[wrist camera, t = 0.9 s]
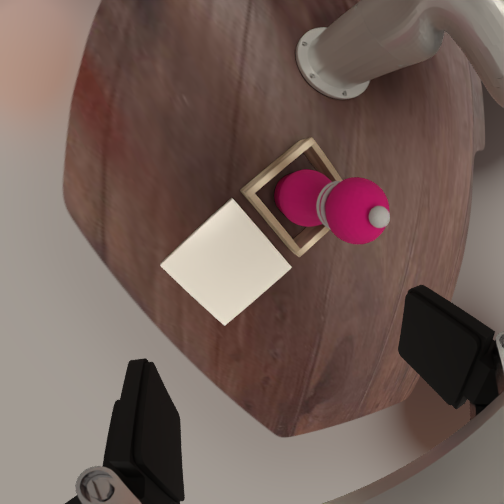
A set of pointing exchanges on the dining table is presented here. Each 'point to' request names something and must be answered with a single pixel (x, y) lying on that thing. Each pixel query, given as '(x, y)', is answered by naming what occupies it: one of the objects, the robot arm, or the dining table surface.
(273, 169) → the holder
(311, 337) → the dining table surface
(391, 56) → the robot arm
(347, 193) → the pepper mill
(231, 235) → the tile
